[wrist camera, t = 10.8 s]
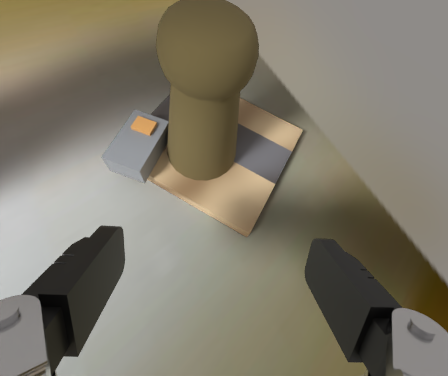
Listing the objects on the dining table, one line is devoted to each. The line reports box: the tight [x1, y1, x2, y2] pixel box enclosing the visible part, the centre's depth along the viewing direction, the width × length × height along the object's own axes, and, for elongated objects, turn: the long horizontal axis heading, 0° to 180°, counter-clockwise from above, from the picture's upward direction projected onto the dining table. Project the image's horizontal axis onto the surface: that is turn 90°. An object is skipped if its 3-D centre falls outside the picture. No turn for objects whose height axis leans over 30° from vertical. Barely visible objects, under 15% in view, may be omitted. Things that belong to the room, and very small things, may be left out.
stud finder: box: [101, 109, 169, 183], centre depth 18 cm, size 3×5×2 cm, turn 161°
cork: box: [156, 0, 259, 181], centre depth 15 cm, size 6×6×11 cm
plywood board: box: [148, 95, 303, 237], centre depth 21 cm, size 13×12×1 cm
